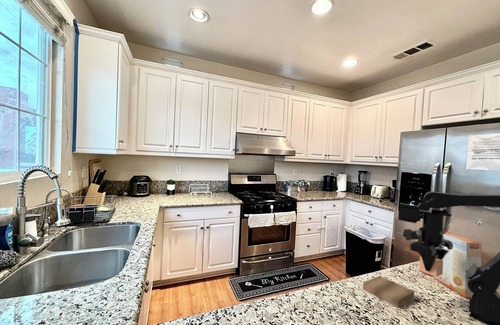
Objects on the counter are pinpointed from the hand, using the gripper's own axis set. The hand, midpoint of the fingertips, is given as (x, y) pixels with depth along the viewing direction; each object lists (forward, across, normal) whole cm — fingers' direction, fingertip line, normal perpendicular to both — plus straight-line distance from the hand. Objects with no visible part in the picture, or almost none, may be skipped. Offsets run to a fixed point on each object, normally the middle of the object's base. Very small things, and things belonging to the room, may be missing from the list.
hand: (430, 269), depth 76 cm
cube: (+1, 0, 0) cm, 1 cm away
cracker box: (+11, -21, +1) cm, 24 cm away
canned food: (+11, -27, -9) cm, 31 cm away
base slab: (+12, +10, -9) cm, 18 cm away
